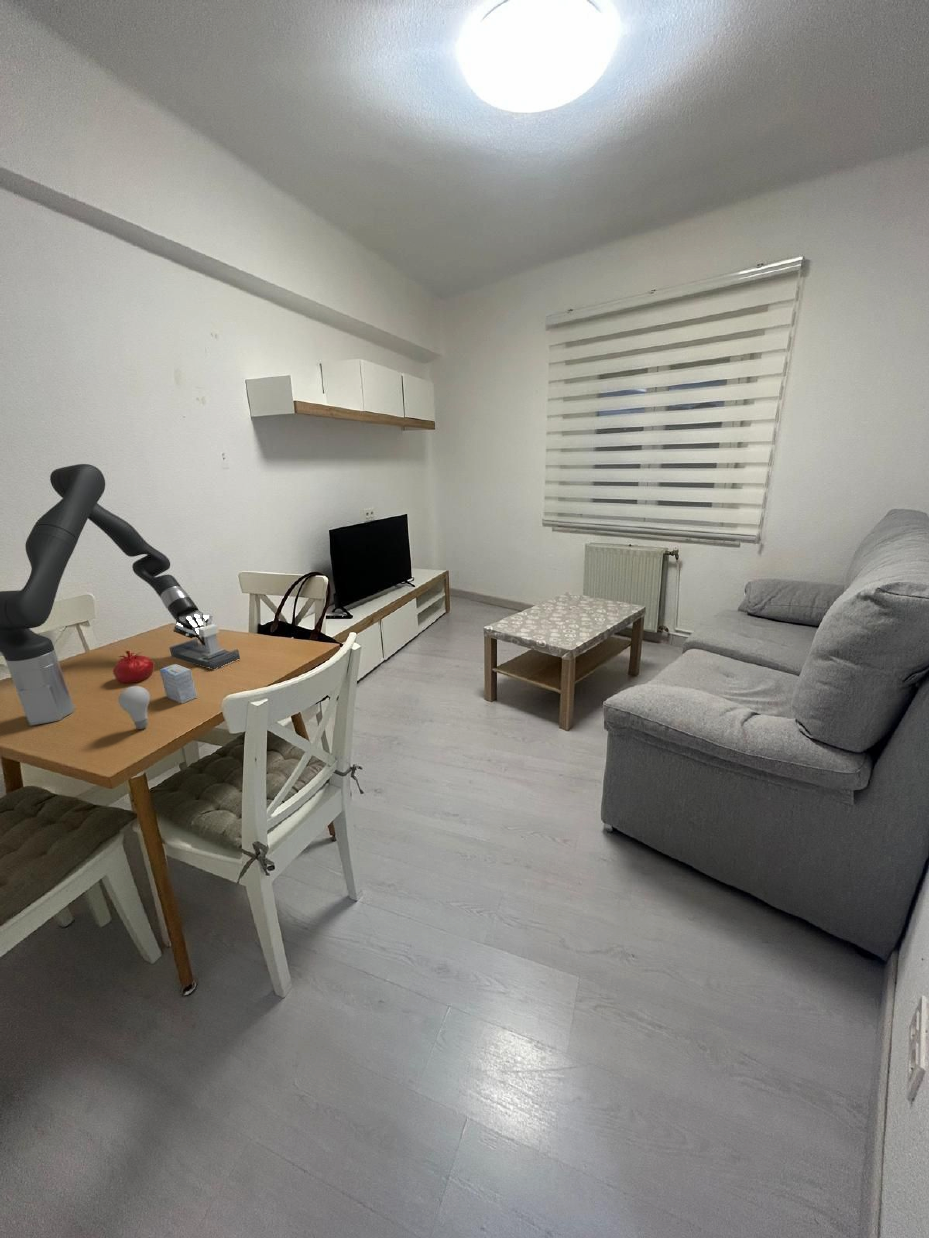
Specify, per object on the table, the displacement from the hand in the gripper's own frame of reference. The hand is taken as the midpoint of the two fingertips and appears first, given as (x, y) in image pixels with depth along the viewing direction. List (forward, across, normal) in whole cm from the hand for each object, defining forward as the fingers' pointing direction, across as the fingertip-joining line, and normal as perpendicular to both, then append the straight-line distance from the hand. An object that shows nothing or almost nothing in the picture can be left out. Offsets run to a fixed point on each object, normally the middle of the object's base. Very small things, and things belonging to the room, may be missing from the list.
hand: (208, 644), depth 150 cm
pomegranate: (-1, -19, +10) cm, 22 cm away
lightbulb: (+22, -34, -14) cm, 42 cm away
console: (+1, 0, +7) cm, 7 cm away
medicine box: (+17, -20, -8) cm, 27 cm away
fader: (+4, 0, +1) cm, 4 cm away
